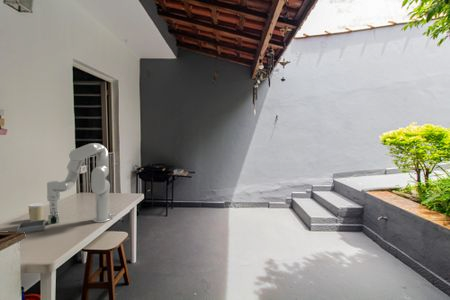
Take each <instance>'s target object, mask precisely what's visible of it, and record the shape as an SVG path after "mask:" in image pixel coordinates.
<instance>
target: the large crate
mask: <svg viewBox="0 0 450 300" xmlns="http://www.w3.org/2000/svg"><path fill="white" fill-rule="evenodd" d="M45 229H46V219H43V220H38V221H25V222H20V223H19V224H18V226H17V228H16V233H17V232H25V233H26V234H31V233H32V234H33V233H37V232H43V231H45Z"/></svg>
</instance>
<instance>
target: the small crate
mask: <svg viewBox="0 0 450 300" xmlns="http://www.w3.org/2000/svg"><path fill="white" fill-rule="evenodd" d="M54 215H55V214H54ZM47 221H48V222H47V224H48V225H52V224H59V223H60V213H56V223H51V214H48V216H47Z"/></svg>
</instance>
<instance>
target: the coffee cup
mask: <svg viewBox="0 0 450 300" xmlns="http://www.w3.org/2000/svg"><path fill="white" fill-rule="evenodd" d="M44 208H45V204H44V203H43V202H35V203H31V204H29V205H28V214H29V222H31V221H38V220H44V211H45V209H44Z"/></svg>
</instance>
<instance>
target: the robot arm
mask: <svg viewBox="0 0 450 300" xmlns="http://www.w3.org/2000/svg"><path fill="white" fill-rule="evenodd" d="M93 155H96V159H95V163H96V164H95V167H94V169H92V171H91V175H90V176H91V181H90V183H91V184H90V186H91V192H92V193H94V195H95V217H94V218H93V222H95V223H105V222H109V221H111V220H112V217H116V216H117V213H114V212H110V190H111V185H110V184H111V183H110V181H109V180H108V179H107V176H108V175H109V174H110V169H109V166H110V165H109V162H110V161H109V156H110V155H109V151H108V149H107V147H106V146H105V145H103V144H101V143H98V142H97V143H96V142H94V143H93V142H92V143H88V144H85V145H82V146H80V147H77V148H75V149H72V150H70V152H69V155H68V156H69V162H68V163H67V166H66V169H67V170H68V172H67V175H66V177H65V179H64V180H62V181H57V180H50V181H48V182H47V183H46V198H47V199H46V200H47V202H48V203H49V206H48V207H49V215H51V223H54V224H57V223H56V214H59V200H60V198H61V197H60V193H61V192H62V193H64V192H67V191H69V190H71V189H72V188H74V186H75V184H76V182H77V180H78V178H79V175H80V174H79V173H80V170H81V167H82V165H83V163H84V162H85V159H86V158H88V157H92V156H93ZM54 214H55V215H54Z"/></svg>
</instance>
